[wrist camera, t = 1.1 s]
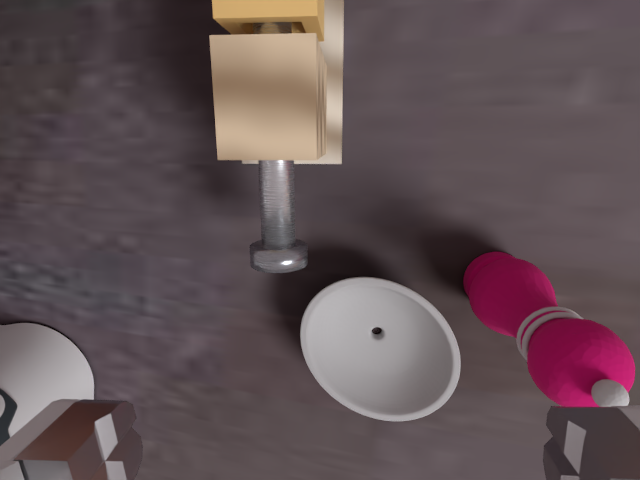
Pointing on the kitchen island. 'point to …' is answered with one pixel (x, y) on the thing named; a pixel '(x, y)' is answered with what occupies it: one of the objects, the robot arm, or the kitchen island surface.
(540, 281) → the pepper mill
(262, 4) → the block
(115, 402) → the robot arm
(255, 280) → the kitchen island surface
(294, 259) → the shaft
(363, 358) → the dish
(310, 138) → the bracket
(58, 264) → the kitchen island surface
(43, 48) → the kitchen island surface
